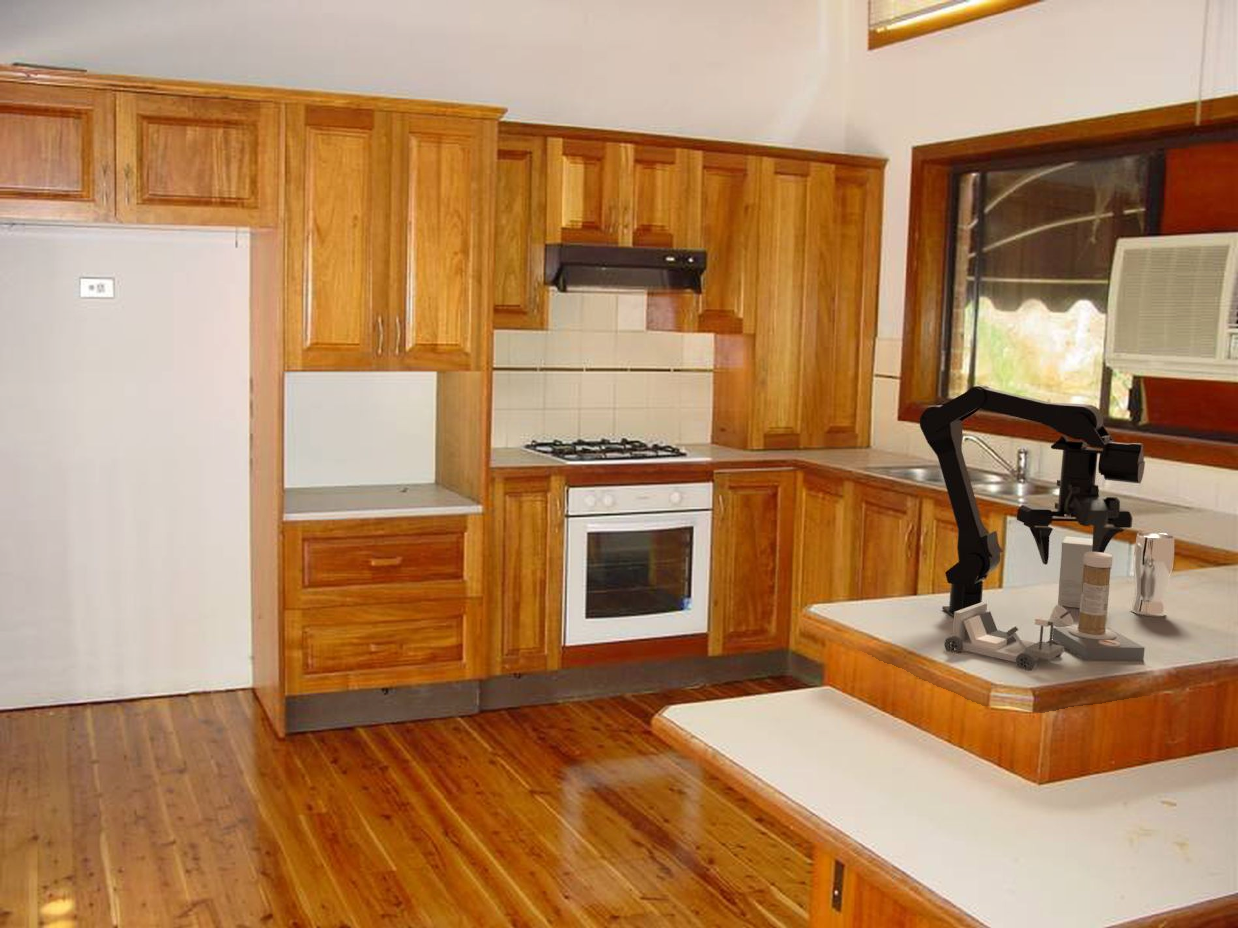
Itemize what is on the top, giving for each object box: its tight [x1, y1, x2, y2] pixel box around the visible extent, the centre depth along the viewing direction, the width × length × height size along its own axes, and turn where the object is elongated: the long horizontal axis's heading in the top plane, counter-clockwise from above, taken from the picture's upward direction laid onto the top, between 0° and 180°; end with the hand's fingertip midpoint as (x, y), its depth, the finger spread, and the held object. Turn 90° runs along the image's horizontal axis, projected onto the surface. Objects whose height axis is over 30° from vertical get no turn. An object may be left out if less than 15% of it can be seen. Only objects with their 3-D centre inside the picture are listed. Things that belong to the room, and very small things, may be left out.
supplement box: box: [1057, 536, 1093, 609], centre depth 242 cm, size 7×7×13 cm
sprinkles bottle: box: [1077, 552, 1113, 634], centre depth 211 cm, size 5×5×13 cm
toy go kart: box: [943, 601, 1074, 671], centre depth 205 cm, size 18×10×12 cm
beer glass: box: [1130, 531, 1175, 618], centre depth 237 cm, size 7×7×15 cm
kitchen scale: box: [1052, 625, 1146, 662], centre depth 210 cm, size 12×10×3 cm
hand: (1070, 564), depth 221 cm, fingers open, 9 cm apart
